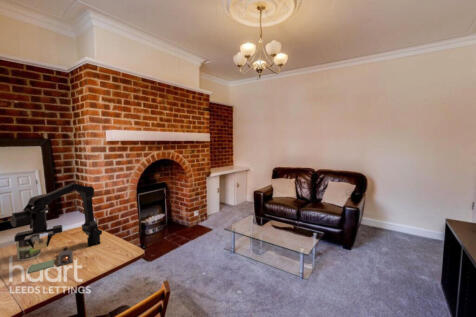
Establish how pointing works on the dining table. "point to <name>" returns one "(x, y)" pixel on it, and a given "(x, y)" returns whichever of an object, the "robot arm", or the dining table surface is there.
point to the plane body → (65, 257)
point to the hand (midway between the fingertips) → (41, 247)
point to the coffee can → (27, 249)
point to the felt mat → (41, 266)
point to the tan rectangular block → (40, 244)
